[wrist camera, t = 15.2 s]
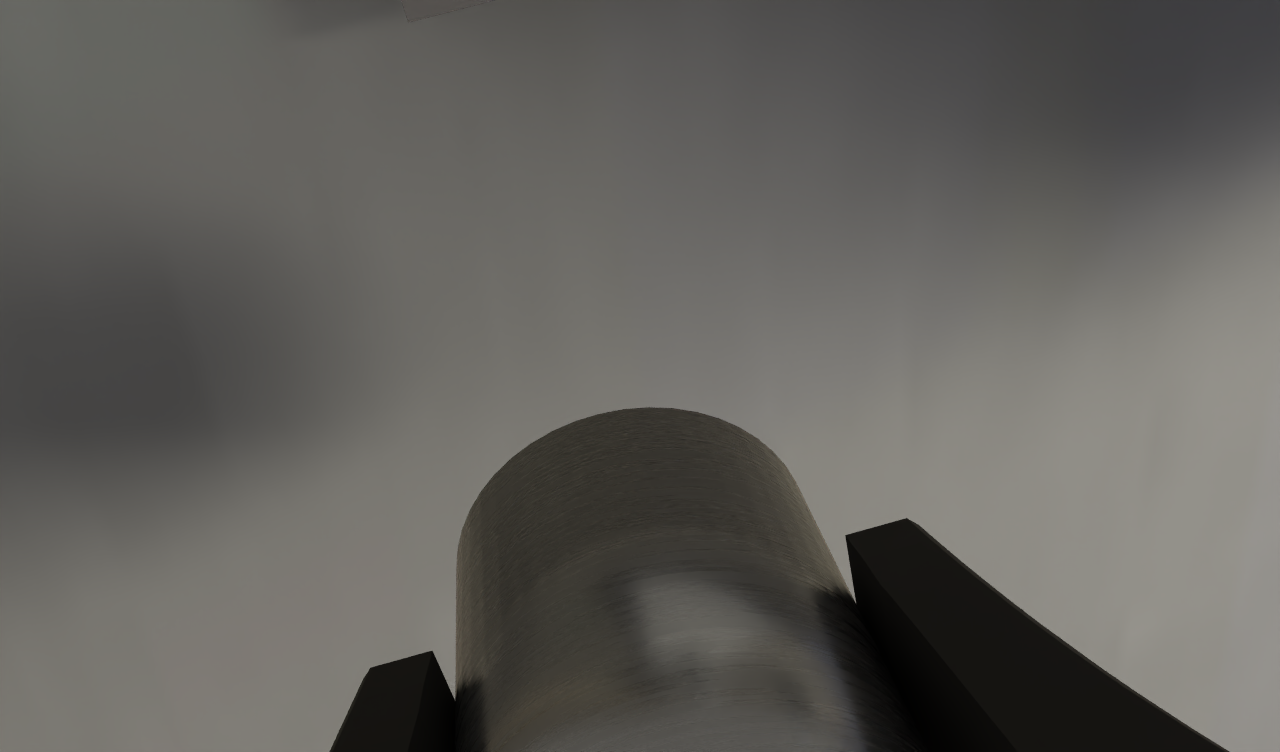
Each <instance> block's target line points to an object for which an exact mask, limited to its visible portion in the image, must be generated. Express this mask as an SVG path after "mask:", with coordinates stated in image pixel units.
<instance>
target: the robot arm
mask: <svg viewBox="0 0 1280 752" xmlns="http://www.w3.org/2000/svg"><path fill="white" fill-rule="evenodd" d="M845 536H846V542H847V549H848V555H849V561H850V567H851V573H852V580H853V586H854V592H855V598H856V605H857V607H858V609H859V611H860V613H861V615H862V617H863V619H864V621H865V623H866V626H867V628H868V630H869V632H870V634H871V636H872V638H873V640H874V642H875V644H876V646H877V648H878V650H879V652H880V654H881V656H882V658H883V660H884V662H885V664H886V666H887V668H888V670H889V672H890V674H891V676H892V678H893V680H894V682H895V684H896V686H897V689H898V691H899V693H900V695H901V697H902V699H903V701H904V703H905V705H906V707H907V709H908V711H909V713H910V715H911V717H912V719H913V721H914V723H915V725H916V727H917V729H918V731H919V733H920V735H921V737H922V739H923V741H924V743H925V745H926V747H927V749H928V752H1229V751H1227V750H1226V749H1224V748H1223V747H1221V746H1219V745H1218V744H1216V743H1214V742H1213V741H1211V740H1210V739H1208V738H1206V737H1205V736H1203V735H1202V734H1200V733H1198V732H1197V731H1195V730H1194V729H1192V728H1190V727H1189V726H1187V725H1186V724H1184V723H1183V722H1181V721H1180V720H1178V719H1177V718H1175V717H1174V716H1172V715H1171V714H1169V713H1167V712H1166V711H1164V710H1163V709H1161V708H1160V707H1158V706H1157V705H1155V704H1154V703H1152V702H1151V701H1149V700H1148V699H1146V698H1145V697H1143V696H1141V695H1140V694H1138V693H1137V692H1135V691H1134V690H1132V689H1131V688H1130V687H1128V686H1127V685H1125V684H1124V683H1122V682H1121V681H1119V680H1118V679H1116V678H1115V677H1114V676H1112V675H1111V674H1109V673H1108V672H1106V671H1105V670H1103V669H1102V668H1101V667H1099V666H1098V665H1096V664H1095V663H1094V662H1092V661H1091V660H1089V659H1088V658H1087V657H1085V656H1084V655H1083V654H1081V653H1080V652H1078V651H1077V650H1076V649H1074V648H1073V647H1072V646H1070V645H1069V644H1067V643H1066V642H1065V641H1063V640H1062V639H1061V638H1059V637H1058V636H1056V635H1055V634H1054V633H1052V632H1051V631H1050V630H1048V629H1047V628H1045V627H1044V626H1043V625H1041V624H1040V623H1039V622H1037V621H1036V620H1035V619H1033V618H1032V617H1031V616H1029V615H1028V614H1027V613H1025V612H1024V611H1023V610H1022V609H1020V608H1019V607H1018V606H1016V605H1015V604H1014V603H1012V602H1011V601H1010V600H1009V599H1007V598H1006V597H1005V596H1004V595H1002V594H1001V593H1000V592H999V591H997V590H996V589H995V588H994V587H992V586H991V585H990V584H989V583H987V582H986V581H985V580H983V579H982V578H981V577H980V576H979V575H977V574H976V573H975V572H974V571H972V570H971V569H970V568H969V567H968V566H966V565H965V564H964V563H963V562H961V561H960V560H959V559H958V558H957V557H955V556H954V555H953V554H952V553H951V552H950V551H948V550H947V549H946V548H945V547H944V546H942V545H941V544H940V543H939V542H938V541H937V540H935V539H934V538H933V537H932V536H931V535H930V534H928V533H927V532H926V531H925V530H924V529H923V528H922V527H920V526H919V525H918V524H916V523H914V522H913V521H911V520H909V519H907V518H906V519H902V520H899V521H895V522H891V523H888V524H884V525H881V526H877V527H874V528H870V529H866V530H863V531H859V532H856V533H852V534H848V535H845ZM330 752H455V700H454V697H453V695H452V693H451V691H450V688H449V686H448V684H447V682H446V680H445V677H444V675H443V673H442V671H441V669H440V666H439V664H438V662H437V660H436V658H435V655H434V653H433V651H429V652H425V653H422V654H418V655H415V656H411V657H408V658H404V659H400V660H397V661H393V662H390V663H386V664H382V665H379V666H375V667H372V668H370V669H369V671H368V673H367V674H366V676H365V677H364V679H363V681H362V683H361V685H360V687H359V689H358V692H357V694H356V696H355V698H354V700H353V702H352V704H351V707H350V709H349V711H348V713H347V715H346V717H345V720H344V722H343V724H342V726H341V728H340V730H339V733H338V735H337V737H336V739H335V741H334V743H333V746H332V748H331V750H330Z"/></svg>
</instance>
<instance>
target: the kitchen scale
mask: <svg viewBox="0 0 1280 752" xmlns="http://www.w3.org/2000/svg"><path fill="white" fill-rule="evenodd" d="M401 1H402V4H403V7H404V10H405V13H406V17H407V20H408V23H409V22H412V21H416V20H420V19H424V18H428V17H432V16H436V15H440V14H443V13H447V12H451V11H455V10H459V9H463V8H467V7H471V6H475V5H478V4H482V3H486V2H490V1H494V0H401Z"/></svg>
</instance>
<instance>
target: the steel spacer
mask: <svg viewBox="0 0 1280 752" xmlns="http://www.w3.org/2000/svg"><path fill="white" fill-rule="evenodd" d="M455 752H928V749H927V747H926V745H925V743H924V741H923V739H922V737H921V735H920V733H919V731H918V729H917V727H916V725H915V723H914V721H913V719H912V717H911V715H910V713H909V711H908V709H907V707H906V705H905V703H904V701H903V699H902V697H901V695H900V693H899V691H898V689H897V686H896V684H895V682H894V680H893V678H892V676H891V674H890V672H889V670H888V668H887V666H886V664H885V662H884V660H883V658H882V656H881V654H880V652H879V650H878V648H877V646H876V644H875V642H874V640H873V638H872V636H871V634H870V632H869V630H868V628H867V626H866V623H865V621H864V619H863V617H862V615H861V613H860V611H859V609H858V607H857V605H856V603H855V601H854V599H853V597H852V595H851V593H850V591H849V589H848V587H847V585H846V583H845V581H844V579H843V577H842V575H841V573H840V571H839V569H838V567H837V565H836V563H835V560H834V558H833V556H832V554H831V552H830V550H829V548H828V546H827V544H826V542H825V540H824V538H823V536H822V534H821V532H820V530H819V528H818V526H817V524H816V522H815V520H814V518H813V516H812V514H811V512H810V510H809V508H808V506H807V504H806V502H805V500H804V497H803V495H802V493H801V491H800V489H799V487H798V485H797V483H796V481H795V480H794V478H793V477H792V475H791V473H790V472H789V470H788V469H787V467H786V466H785V465H784V463H783V462H782V461H781V460H780V459H779V458H778V457H777V455H776V454H775V453H774V452H773V451H772V450H771V449H769V448H768V447H767V446H766V445H765V444H763V443H762V442H761V441H760V440H759V439H757V438H756V437H754V436H753V435H751V434H749V433H748V432H746V431H744V430H743V429H741V428H740V427H737V426H735V425H733V424H730V423H728V422H726V421H724V420H721V419H719V418H715V417H712V416H708V415H705V414H702V413H698V412H693V411H686V410H680V409H674V408H650V407H648V408H635V409H623V410H618V411H612V412H607V413H602V414H598V415H594V416H591V417H588V418H585V419H581V420H578V421H575V422H572V423H570V424H568V425H566V426H563V427H561V428H559V429H556V430H554V431H552V432H550V433H548V434H547V435H545V436H543V437H541V438H540V439H538V440H536V441H535V442H533V443H531V444H530V445H528V446H527V447H526V448H524V449H523V450H522V451H520V452H519V453H518V454H516V455H515V456H514V457H512V458H511V459H510V460H509V461H508V462H507V463H506V464H505V465H504V466H503V467H502V468H501V469H500V470H499V471H498V472H497V473H496V474H495V475H494V476H493V477H492V478H491V480H490V481H489V482H488V483H487V485H486V486H485V487H484V488H483V490H482V491H481V492H480V494H479V496H478V497H477V499H476V501H475V502H474V504H473V506H472V508H471V509H470V511H469V514H468V516H467V519H466V521H465V524H464V526H463V529H462V532H461V537H460V541H459V545H458V552H457V569H456V693H455Z"/></svg>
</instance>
